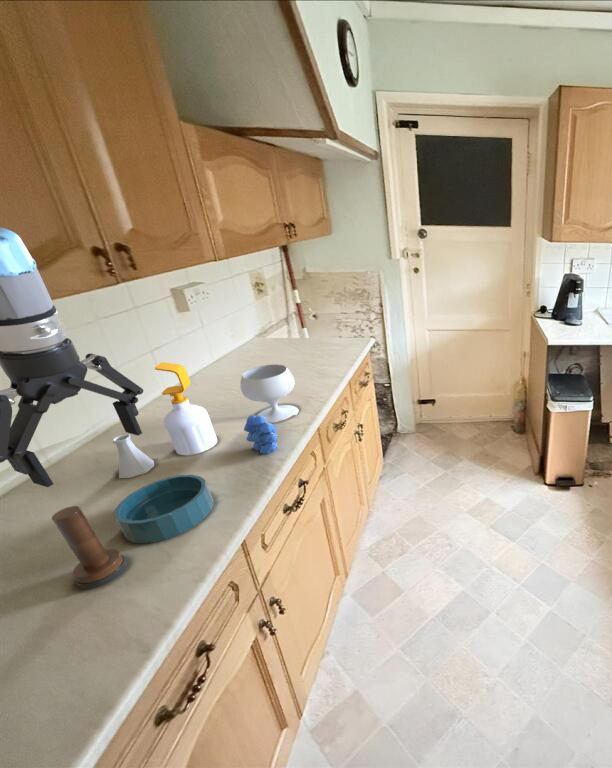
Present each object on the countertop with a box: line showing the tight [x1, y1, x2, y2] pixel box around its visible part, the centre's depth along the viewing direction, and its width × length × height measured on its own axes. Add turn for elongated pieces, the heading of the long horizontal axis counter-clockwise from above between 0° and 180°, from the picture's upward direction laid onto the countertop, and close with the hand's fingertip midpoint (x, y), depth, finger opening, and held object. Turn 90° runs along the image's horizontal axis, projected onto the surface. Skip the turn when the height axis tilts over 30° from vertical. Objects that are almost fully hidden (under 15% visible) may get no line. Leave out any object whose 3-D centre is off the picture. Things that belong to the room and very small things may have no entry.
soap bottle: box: [154, 361, 218, 456], centre depth 102 cm, size 9×9×25 cm
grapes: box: [243, 414, 278, 455], centre depth 104 cm, size 12×7×12 cm, turn 63°
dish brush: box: [51, 505, 128, 590], centre depth 68 cm, size 6×6×15 cm
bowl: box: [113, 474, 215, 544], centre depth 83 cm, size 15×15×6 cm
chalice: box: [240, 364, 300, 423], centre depth 120 cm, size 14×14×15 cm
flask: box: [112, 433, 155, 479], centre depth 96 cm, size 7×7×10 cm
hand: (92, 456), depth 67 cm, fingers open, 13 cm apart
